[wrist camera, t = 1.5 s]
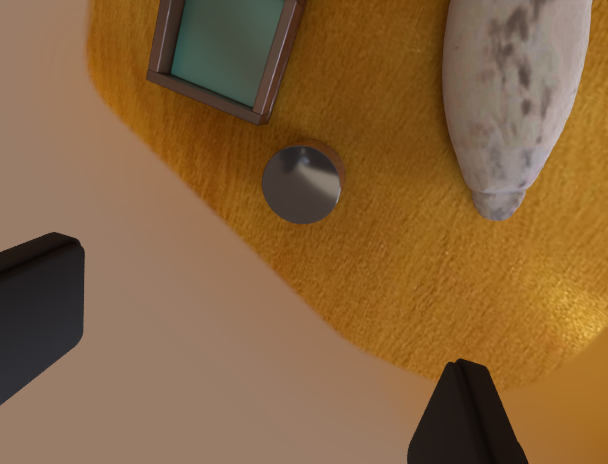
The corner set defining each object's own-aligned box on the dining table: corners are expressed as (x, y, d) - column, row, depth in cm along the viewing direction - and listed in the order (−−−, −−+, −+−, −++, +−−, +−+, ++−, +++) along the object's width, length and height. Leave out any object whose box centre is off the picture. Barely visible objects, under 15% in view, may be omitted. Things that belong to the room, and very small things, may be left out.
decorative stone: (436, 215, 22) (446, 234, 19) (438, -99, 18) (450, -142, 14) (550, 209, 21) (580, 229, 18) (585, -131, 16) (635, -186, 13)
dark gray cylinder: (300, 124, 22) (288, 128, 19) (359, 167, 22) (356, 177, 20) (263, 183, 24) (247, 194, 21) (319, 223, 24) (311, 238, 21)
